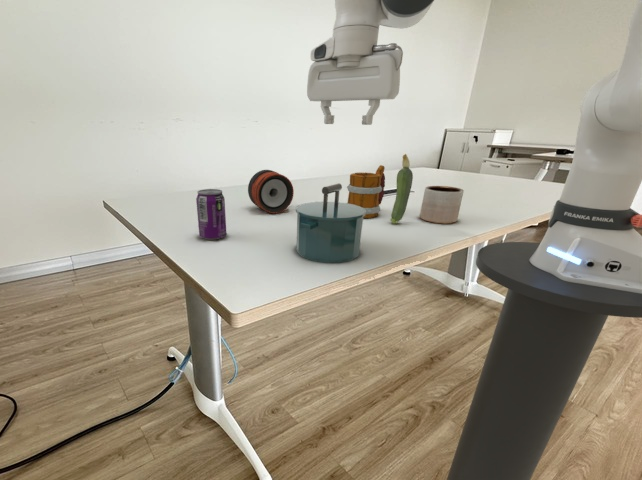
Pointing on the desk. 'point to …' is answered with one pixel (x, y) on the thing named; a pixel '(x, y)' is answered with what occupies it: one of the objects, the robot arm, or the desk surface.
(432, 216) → the planter
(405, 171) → the vegetable
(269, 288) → the desk surface
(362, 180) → the mug
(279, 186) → the oil filter
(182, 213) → the desk surface
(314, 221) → the pot
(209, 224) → the beverage can
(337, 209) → the lid
